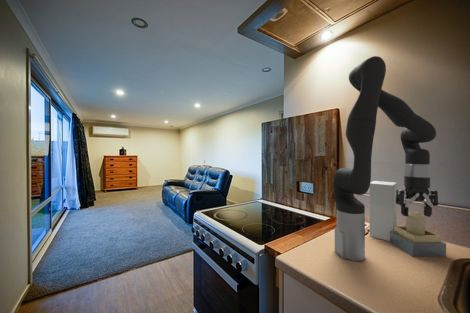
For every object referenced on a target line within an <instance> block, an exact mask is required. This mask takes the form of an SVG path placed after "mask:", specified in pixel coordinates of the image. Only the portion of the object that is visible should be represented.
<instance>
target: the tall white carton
mask: <svg viewBox="0 0 470 313" xmlns="http://www.w3.org/2000/svg"><path fill="white" fill-rule="evenodd" d="M397 189H398V182H392V181H382V180H381V181H380V180H373V181H371V182H370V187H369V207H368V208H369V212H368V213H369V215H368V216H369V237H371V238H374V239H375V238H376V239H378V240H384V241H387V242H390V231H394V226H398V204H396V190H397Z"/></svg>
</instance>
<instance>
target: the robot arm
mask: <svg viewBox="0 0 470 313" xmlns="http://www.w3.org/2000/svg"><path fill="white" fill-rule="evenodd" d="M386 71H387V65H386V62H385V60H384V59H383V58H382V57H380V56H378V55H375V56H371V57H368V58H367V59H365V60H363V61H362V62H360V63H359V64H358V65H356V66H355V67H354V68H352V69H351V70H350V72H349V73H348V82H349V84H350V85H351V86H352V87H353V88H354V89H355V90H357V91H358V92H359V95H358V97H357V99H356V101H355V103H354V104H353V106H352V108H351V110H350V112H349V114H348V118H347V122H346V128H345V136H346V140H347V142H348V144H349V146H350V148H351V151H352V153H353V166H352V168H347V167H345V168H344V167H342V168H338V169H337V170H336V171H335V172H334V176H333V183H332V184H333V198H334V203H335V205H336V226H335V227H334V251H335V253H337V254H338V255H339V257H340V258H341V259H344V260H345V259H346V260H348V261H353V262H361V261H364V260H365V257H366V237H365V236H366V222H365V221H366V220H365V219H366V216H365V215H366V211H365V210H366V208H365V207H366V206H365V204H364V203H363V202H361V201H360V200H359V199H358V198H356V196H355V195H358V196H362V195H363V196H364V195H365V194H366V193H367V192H368V190H370V183H371V182H372V180H371V178H372V156H373V146H374V145H373V144H374V138H375V133H376V132H375V131H376V127H377V126H376V125H377V114H378V110H379V109H380V110H381V111H382V113H384V114H385V116H387V117H388V119H389V120H390V121H391V122H392V123H393V124H394V125H395V126H396V127H398V128H403V129H402V131H401V132H400V143H401V145H402V148H403V151H404V153H405V156H404V157H405V158H404V159H405V161H404V162H405V163H404V171H403V174H404V176H403V185H404V190H403V189H399V188H397V190H396V204H397V205H399V206H400V214H401V215H402V216H404V217H406V216H408V212H409V206H410V204H413V203H414V202H421V203H423V215H424V216H425V217H428V218H429V217H432V214H433V208H434V207H435V206H436V207H437V206H439V194H438V193H439V192H438V190H434V189H430V188H431V165H430V163H431V162H430V160H431V159H430V156H431V154H430V151H429V149H426V148H422V147H421V145H420V144H422V143H429V142H433V140H435V138H436V136H437V131H436V128H435V126H434V125H433V124H432V123H431V122H430V121H428V120H427V119H425V118H423V117H421V115H418V114H416V113H415V112H414V110H412V108H411V107H410V106H409V105H408V103H407V102H406V101H405V100H403V98H402V99H401V98H400V97H398V96H396V95H394V94H392V93H389V92H387V91H385V90H384V89H382V88H383V85H384V81H385V77H386Z"/></svg>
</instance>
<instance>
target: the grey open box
mask: <svg viewBox="0 0 470 313" xmlns="http://www.w3.org/2000/svg"><path fill="white" fill-rule="evenodd" d="M389 243H390V244H391V245H393V246H395V247H396V248H397V249H399V250H401V251H403V252H405V253H406V254H408V255H409V256H411V257H413V258H414V257H416V258H425V257H426V258H428V257H429V258H431V257H432V258H433V257H434V258H438V257H439V258H442V257H443V258H445V257H447V243H446V242H444V241H442V236H441V235H440V234H438V233H436V232H435V233H434V232H432V231H430V230H427V229H426V228H425V235H413V234H411V233H409V232H407V231H406V225H397V226H394V231H390V241H389Z"/></svg>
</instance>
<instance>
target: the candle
mask: <svg viewBox="0 0 470 313" xmlns="http://www.w3.org/2000/svg"><path fill="white" fill-rule="evenodd" d="M405 226H406V231H407V232H409V233H411V234H413V235H425V229H426V216H425V215H424V213H421V212H419V211H416V210H410V211H408V216H405Z"/></svg>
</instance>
